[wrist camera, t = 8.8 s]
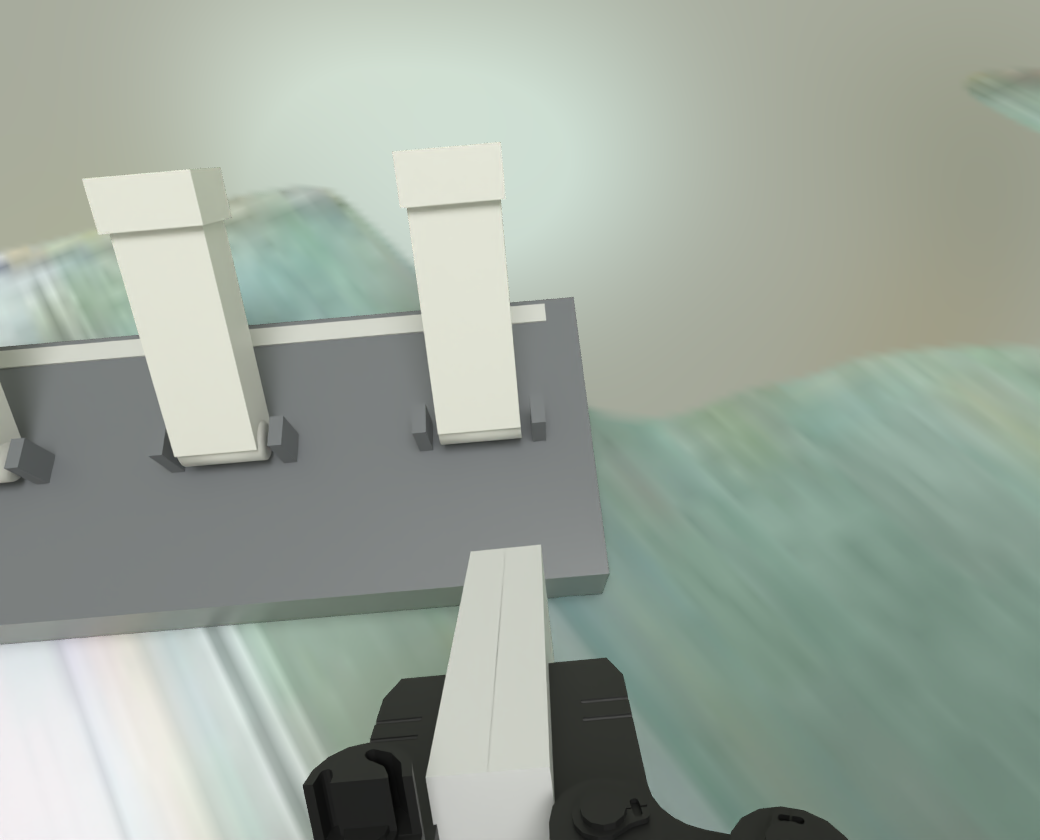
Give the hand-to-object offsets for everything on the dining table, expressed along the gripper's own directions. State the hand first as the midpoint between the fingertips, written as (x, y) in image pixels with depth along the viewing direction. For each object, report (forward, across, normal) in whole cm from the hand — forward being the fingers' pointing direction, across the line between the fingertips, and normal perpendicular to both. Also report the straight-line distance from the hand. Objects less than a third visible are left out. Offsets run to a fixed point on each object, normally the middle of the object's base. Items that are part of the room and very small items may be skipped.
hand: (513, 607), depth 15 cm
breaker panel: (+21, -14, -3) cm, 25 cm away
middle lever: (+16, -13, +1) cm, 21 cm away
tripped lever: (+17, -2, 0) cm, 17 cm away
